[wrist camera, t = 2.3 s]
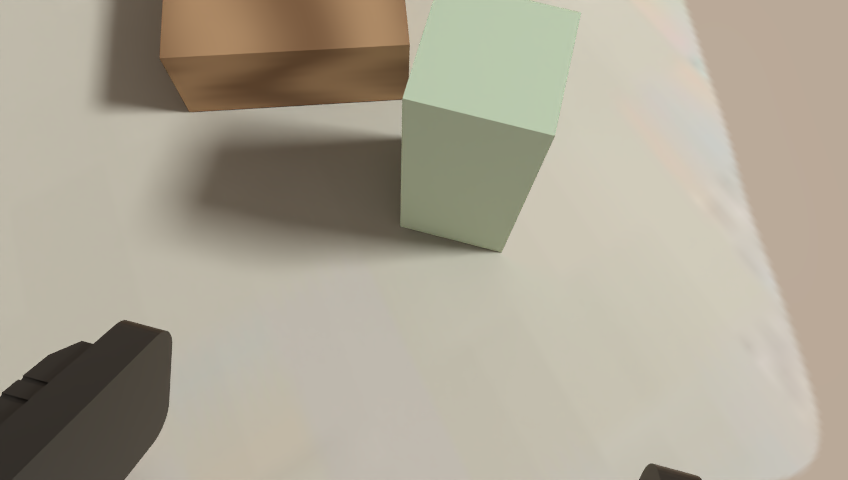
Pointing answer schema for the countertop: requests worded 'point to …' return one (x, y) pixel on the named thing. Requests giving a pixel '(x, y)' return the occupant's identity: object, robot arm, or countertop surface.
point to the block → (481, 115)
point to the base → (284, 51)
